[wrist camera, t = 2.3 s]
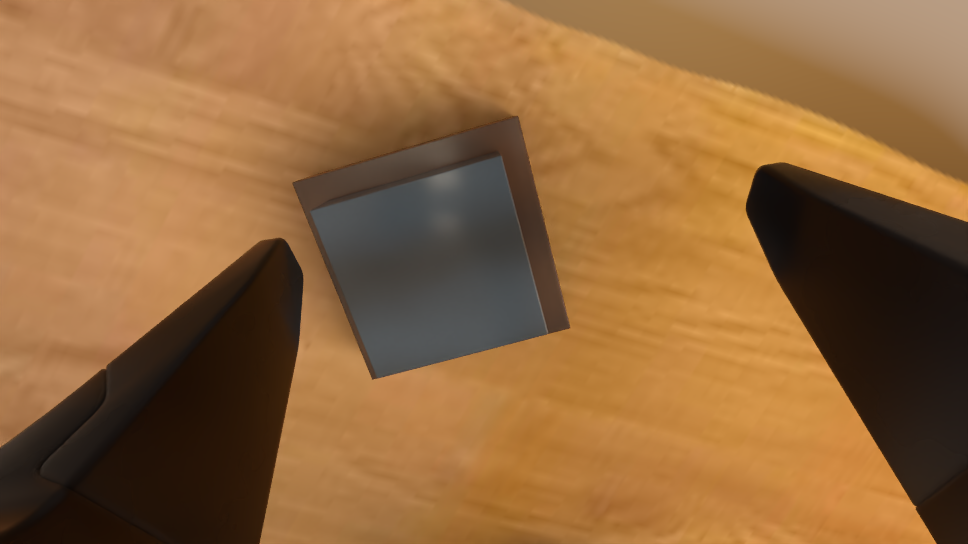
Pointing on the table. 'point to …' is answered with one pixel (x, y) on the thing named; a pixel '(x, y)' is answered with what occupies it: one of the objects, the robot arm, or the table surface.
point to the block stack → (437, 248)
